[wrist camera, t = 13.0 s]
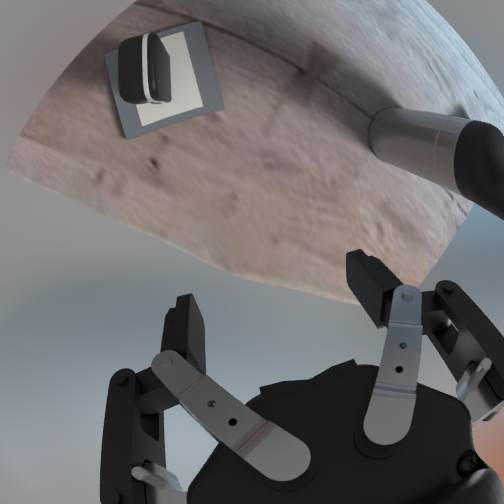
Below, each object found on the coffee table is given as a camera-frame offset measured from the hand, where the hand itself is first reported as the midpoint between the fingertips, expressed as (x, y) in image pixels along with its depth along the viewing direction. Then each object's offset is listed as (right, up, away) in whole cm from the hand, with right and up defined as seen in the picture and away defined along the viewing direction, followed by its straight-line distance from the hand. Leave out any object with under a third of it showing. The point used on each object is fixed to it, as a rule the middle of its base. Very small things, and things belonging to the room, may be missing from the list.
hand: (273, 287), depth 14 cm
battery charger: (-13, +23, +14) cm, 29 cm away
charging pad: (-12, +24, +14) cm, 30 cm away
